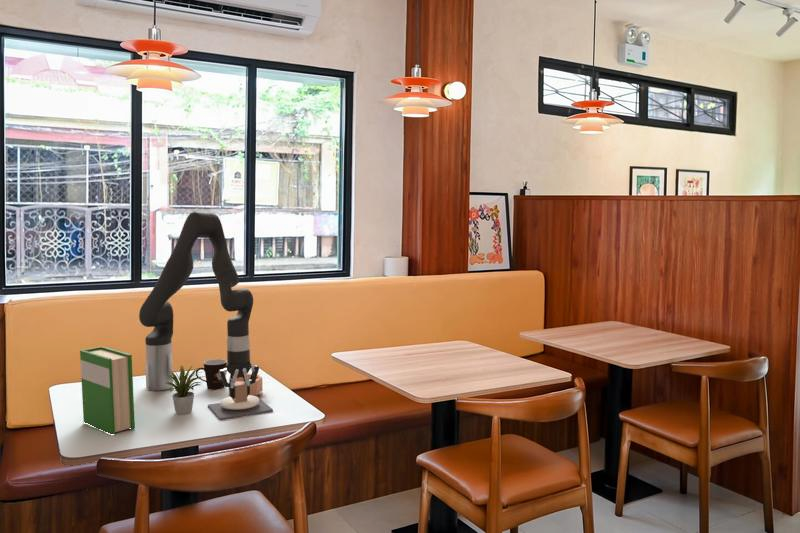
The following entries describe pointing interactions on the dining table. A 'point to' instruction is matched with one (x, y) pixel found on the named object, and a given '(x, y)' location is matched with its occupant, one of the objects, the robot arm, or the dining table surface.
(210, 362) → the coffee mug
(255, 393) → the bowl
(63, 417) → the dining table surface
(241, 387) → the lid
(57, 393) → the dining table surface
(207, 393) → the dining table surface
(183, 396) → the house plant
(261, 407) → the mat
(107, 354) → the hardback book
